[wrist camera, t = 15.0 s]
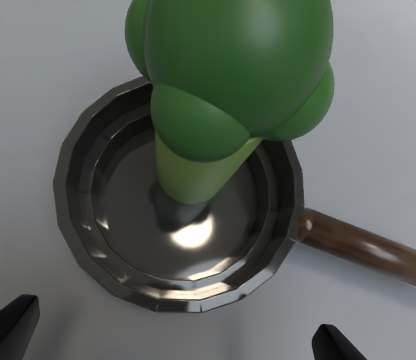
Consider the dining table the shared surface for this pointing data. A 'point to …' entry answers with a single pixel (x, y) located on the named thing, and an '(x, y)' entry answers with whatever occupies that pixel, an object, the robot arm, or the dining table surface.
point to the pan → (170, 212)
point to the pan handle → (357, 245)
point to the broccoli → (228, 81)
